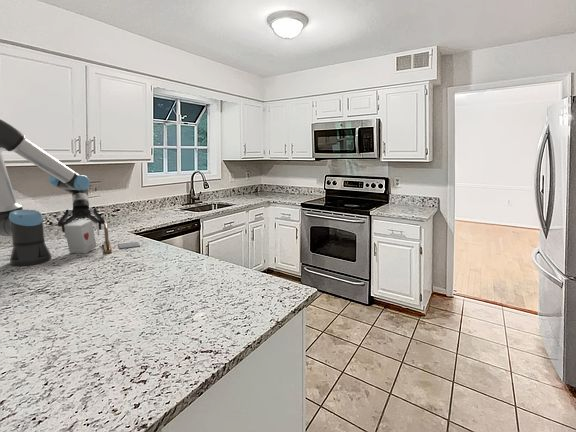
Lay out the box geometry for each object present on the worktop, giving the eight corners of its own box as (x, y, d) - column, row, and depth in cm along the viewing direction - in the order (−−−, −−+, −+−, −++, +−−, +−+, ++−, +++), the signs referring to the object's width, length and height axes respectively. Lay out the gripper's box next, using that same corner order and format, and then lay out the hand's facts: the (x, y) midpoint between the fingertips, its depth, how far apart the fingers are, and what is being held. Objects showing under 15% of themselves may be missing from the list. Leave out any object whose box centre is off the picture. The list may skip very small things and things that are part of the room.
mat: (119, 249, 178) (119, 247, 177) (118, 244, 186) (118, 243, 186) (140, 246, 183) (140, 245, 182) (138, 242, 191) (137, 241, 191)
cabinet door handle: (105, 253, 169) (102, 224, 167) (103, 244, 188) (101, 218, 185) (111, 252, 170) (109, 224, 168) (109, 243, 189) (107, 217, 187)
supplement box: (86, 253, 169) (80, 225, 164) (69, 253, 169) (62, 225, 165) (97, 246, 177) (92, 219, 173) (81, 246, 178) (75, 219, 173)
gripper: (107, 206, 191) (110, 237, 181) (53, 208, 178) (53, 242, 168) (107, 198, 186) (110, 229, 175) (51, 199, 173) (51, 233, 162)
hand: (82, 236), depth 171 cm, fingers open, 13 cm apart
